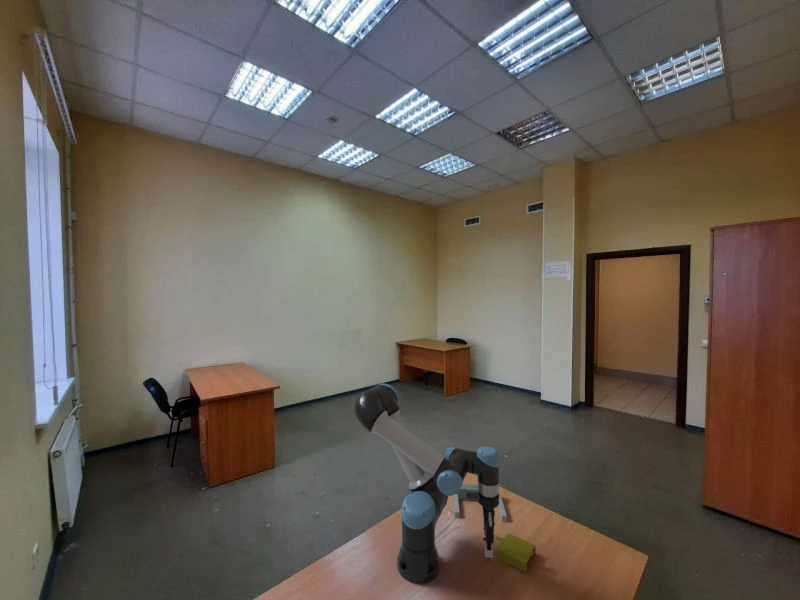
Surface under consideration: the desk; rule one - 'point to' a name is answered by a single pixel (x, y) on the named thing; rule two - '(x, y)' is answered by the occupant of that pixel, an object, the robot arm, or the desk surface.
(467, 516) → the desk surface
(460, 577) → the desk surface
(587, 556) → the desk surface
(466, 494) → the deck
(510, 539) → the bracket
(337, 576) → the desk surface
